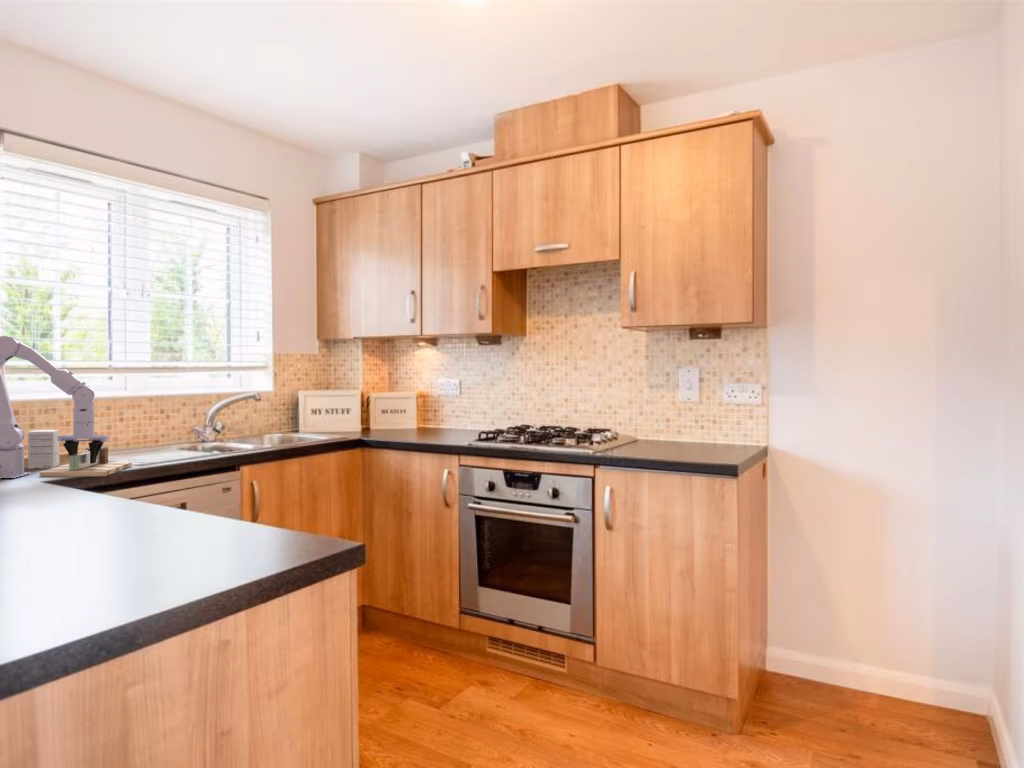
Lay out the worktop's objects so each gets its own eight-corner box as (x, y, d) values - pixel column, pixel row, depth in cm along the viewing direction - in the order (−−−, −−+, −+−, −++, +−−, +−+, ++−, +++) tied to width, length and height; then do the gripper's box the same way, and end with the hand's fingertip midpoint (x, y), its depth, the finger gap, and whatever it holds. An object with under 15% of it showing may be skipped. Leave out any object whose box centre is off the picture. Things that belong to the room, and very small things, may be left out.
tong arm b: (73, 470, 201) (73, 455, 201) (69, 470, 201) (69, 455, 201) (94, 463, 215) (95, 450, 215) (90, 463, 215) (90, 450, 215)
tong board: (105, 476, 201) (105, 454, 201) (39, 476, 198) (39, 454, 198) (132, 466, 221) (132, 446, 221) (72, 466, 217) (72, 446, 217)
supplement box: (34, 465, 218) (35, 429, 218) (60, 464, 221) (60, 429, 220) (27, 469, 211) (27, 431, 211) (53, 468, 214) (53, 431, 214)
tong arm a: (78, 469, 201) (78, 455, 201) (74, 469, 201) (74, 455, 201) (100, 463, 215) (100, 450, 215) (95, 463, 215) (96, 450, 215)
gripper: (52, 423, 202) (52, 465, 202) (102, 423, 204) (101, 465, 204) (64, 421, 209) (64, 461, 209) (112, 421, 211) (111, 461, 211)
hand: (83, 463), depth 207 cm, fingers open, 5 cm apart
